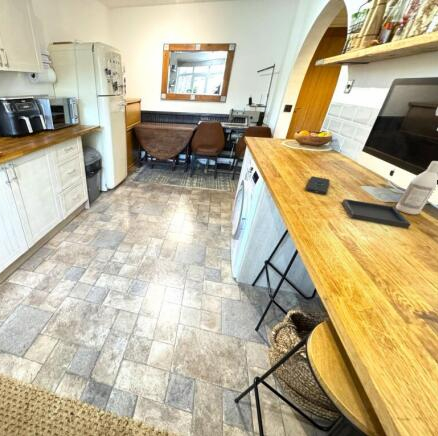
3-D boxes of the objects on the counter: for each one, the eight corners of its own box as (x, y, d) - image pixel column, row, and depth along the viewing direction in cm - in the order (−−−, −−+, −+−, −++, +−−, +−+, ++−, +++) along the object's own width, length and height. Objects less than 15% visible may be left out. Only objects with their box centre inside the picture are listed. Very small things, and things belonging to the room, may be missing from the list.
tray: (391, 210, 96) (393, 206, 95) (407, 228, 84) (411, 223, 83) (341, 202, 101) (343, 198, 100) (351, 218, 90) (353, 213, 89)
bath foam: (403, 206, 99) (432, 158, 89) (423, 214, 94) (457, 164, 84) (390, 207, 98) (419, 159, 88) (410, 216, 92) (443, 165, 82)
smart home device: (306, 187, 111) (311, 175, 125) (305, 190, 112) (310, 178, 126) (327, 191, 107) (330, 179, 121) (326, 195, 108) (328, 182, 122)
